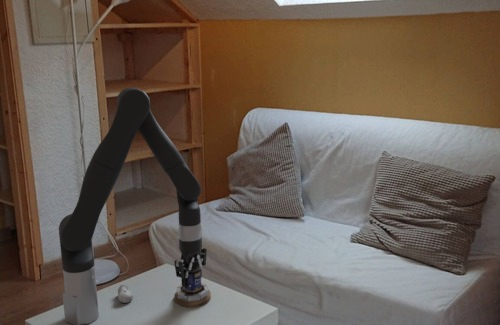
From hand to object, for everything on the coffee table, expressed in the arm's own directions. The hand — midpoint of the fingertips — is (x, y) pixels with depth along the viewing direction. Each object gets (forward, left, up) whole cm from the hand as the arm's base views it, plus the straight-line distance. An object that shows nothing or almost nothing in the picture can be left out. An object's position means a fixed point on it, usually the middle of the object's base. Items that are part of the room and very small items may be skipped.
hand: (191, 283), depth 175 cm
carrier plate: (0, 0, -6) cm, 6 cm away
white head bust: (-12, +19, -6) cm, 23 cm away
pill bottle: (0, 0, -3) cm, 3 cm away
